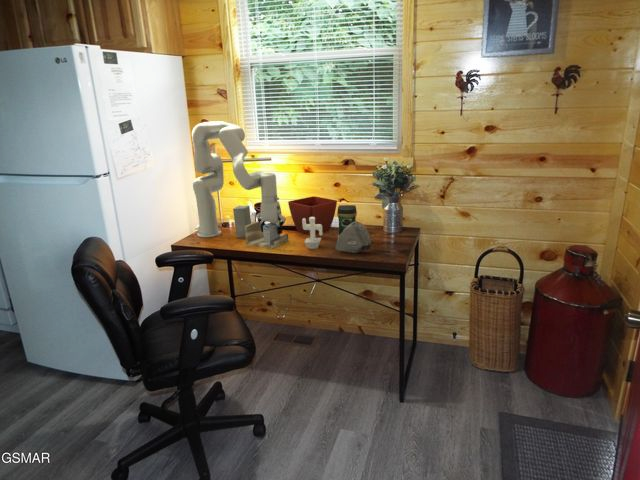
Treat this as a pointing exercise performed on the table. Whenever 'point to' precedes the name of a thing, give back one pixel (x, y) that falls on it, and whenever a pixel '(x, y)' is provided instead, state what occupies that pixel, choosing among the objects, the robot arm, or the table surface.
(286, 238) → the grey angle bracket
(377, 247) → the table surface
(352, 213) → the coffee jar
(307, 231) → the plant pot
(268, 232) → the medicine box
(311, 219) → the figurine
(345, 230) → the decorative rock
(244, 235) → the skincare box
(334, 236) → the table surface
